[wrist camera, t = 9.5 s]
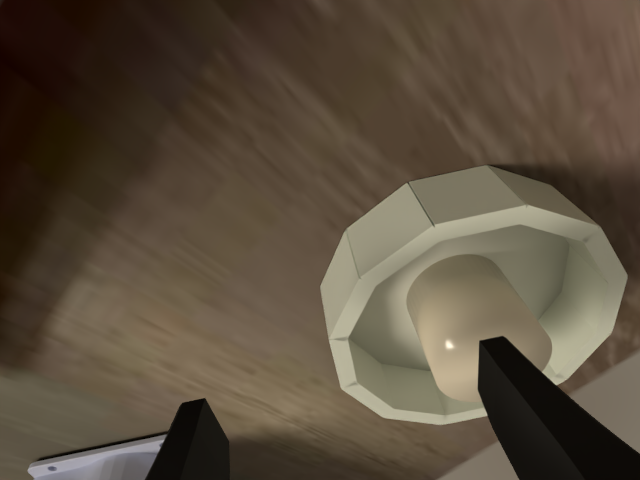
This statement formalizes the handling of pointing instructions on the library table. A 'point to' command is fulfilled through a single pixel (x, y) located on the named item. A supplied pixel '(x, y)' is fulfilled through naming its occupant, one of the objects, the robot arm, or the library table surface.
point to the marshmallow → (470, 320)
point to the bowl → (456, 239)
